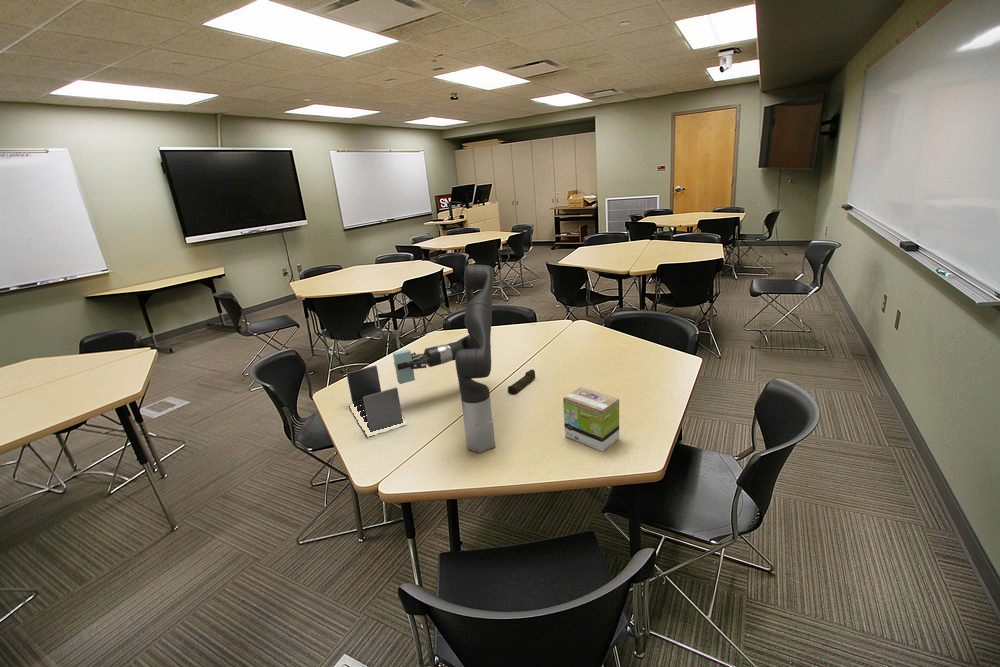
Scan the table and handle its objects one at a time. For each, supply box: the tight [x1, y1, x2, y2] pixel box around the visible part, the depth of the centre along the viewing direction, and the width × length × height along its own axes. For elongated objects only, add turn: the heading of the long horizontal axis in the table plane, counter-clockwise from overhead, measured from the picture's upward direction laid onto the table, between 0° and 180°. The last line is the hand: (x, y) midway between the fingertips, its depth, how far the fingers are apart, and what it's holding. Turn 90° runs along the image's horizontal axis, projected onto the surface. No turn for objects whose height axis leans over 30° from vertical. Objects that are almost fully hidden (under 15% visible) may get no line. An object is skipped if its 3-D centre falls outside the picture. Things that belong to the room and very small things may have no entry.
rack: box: [345, 364, 403, 432], centre depth 175 cm, size 30×15×15 cm, turn 30°
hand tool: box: [507, 369, 536, 396], centre depth 192 cm, size 19×4×5 cm, turn 144°
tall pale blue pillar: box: [392, 349, 416, 385], centre depth 176 cm, size 3×6×12 cm, turn 119°
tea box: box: [562, 386, 620, 452], centre depth 147 cm, size 15×10×15 cm, turn 45°
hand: (396, 366), depth 174 cm, fingers closed on tall pale blue pillar, 3 cm apart
